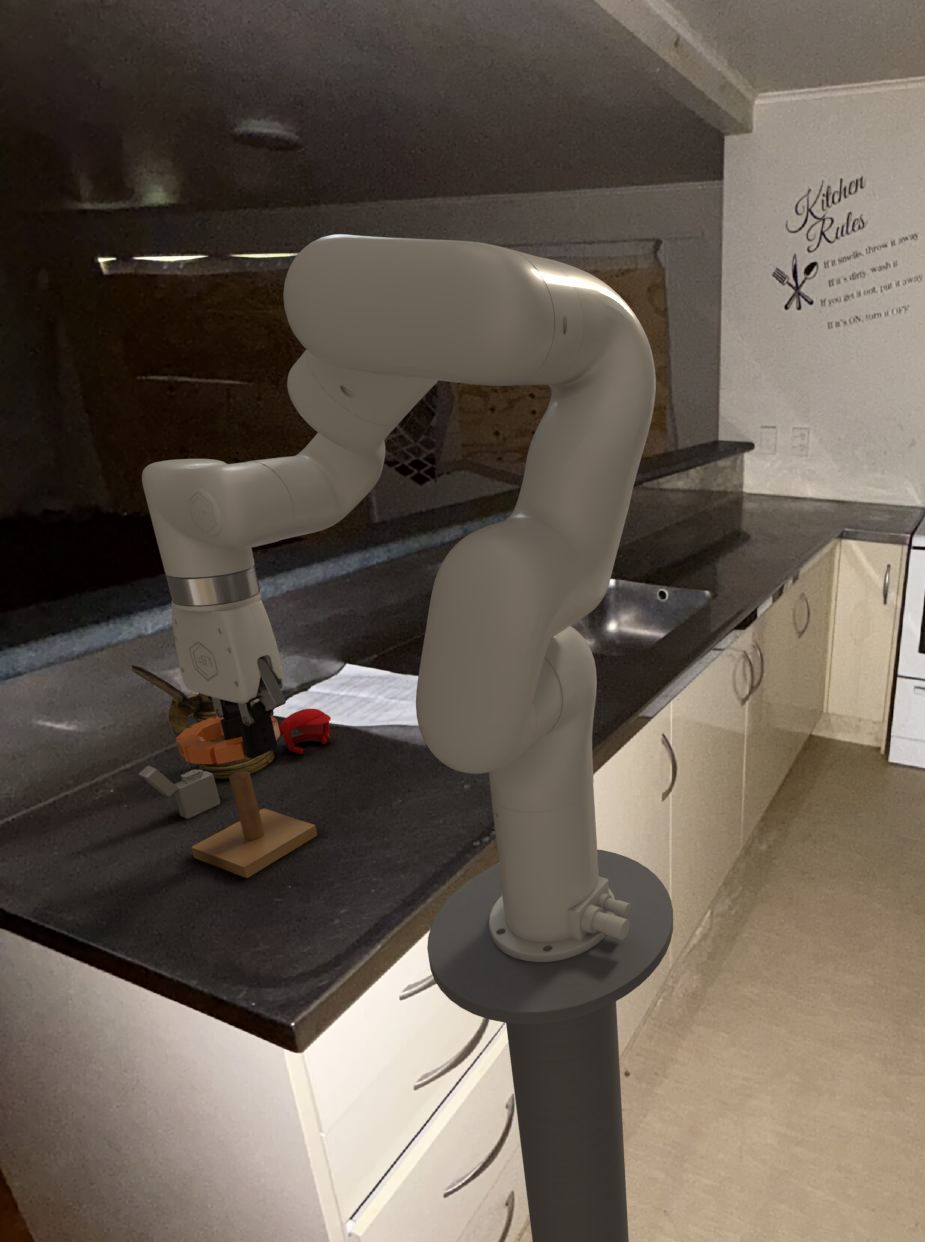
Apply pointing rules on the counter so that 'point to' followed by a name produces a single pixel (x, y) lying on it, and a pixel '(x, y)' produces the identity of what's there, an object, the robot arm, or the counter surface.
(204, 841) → the stand
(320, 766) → the counter surface
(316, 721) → the red helmet
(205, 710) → the wooden mug
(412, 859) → the counter surface
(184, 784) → the lighter
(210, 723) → the ring
